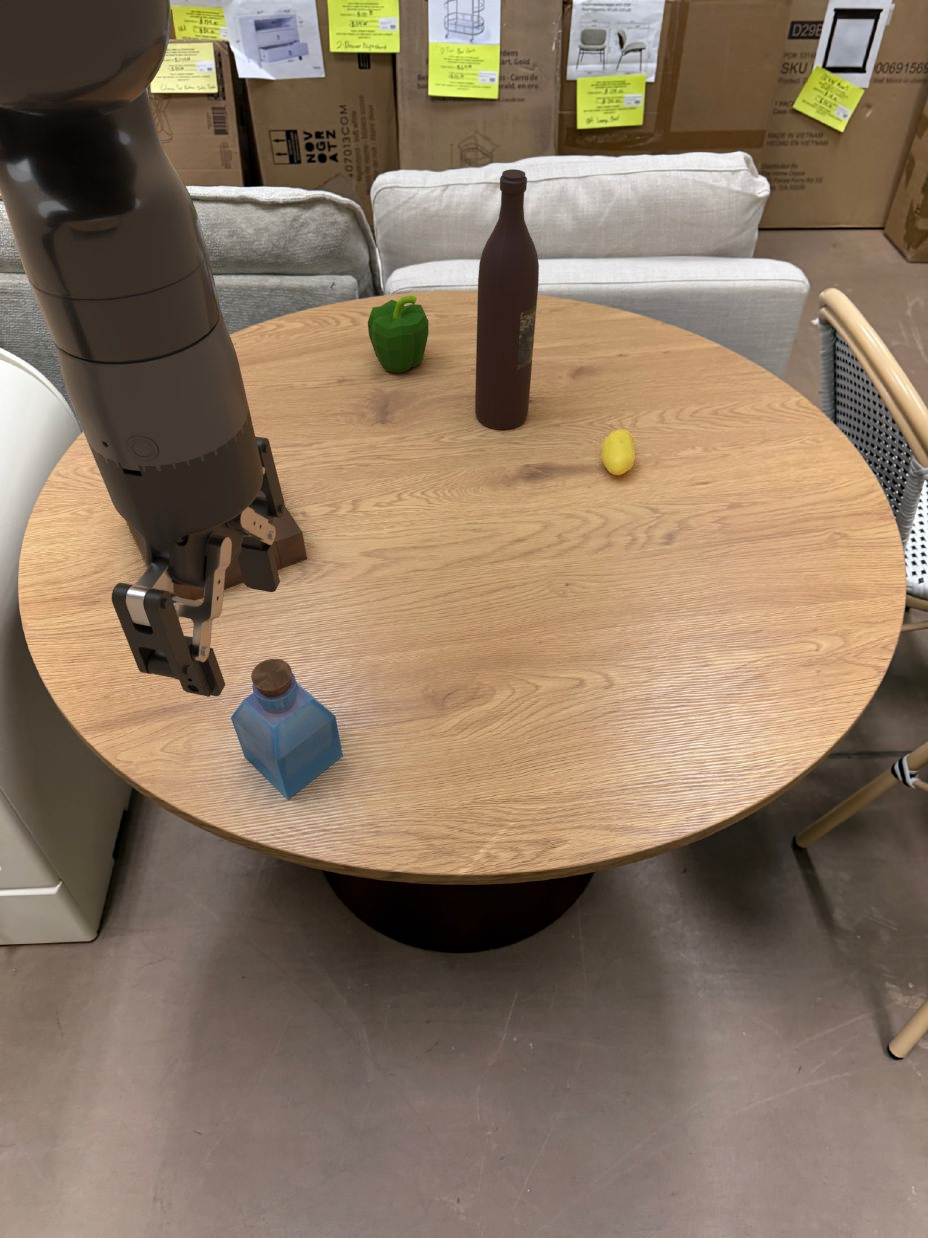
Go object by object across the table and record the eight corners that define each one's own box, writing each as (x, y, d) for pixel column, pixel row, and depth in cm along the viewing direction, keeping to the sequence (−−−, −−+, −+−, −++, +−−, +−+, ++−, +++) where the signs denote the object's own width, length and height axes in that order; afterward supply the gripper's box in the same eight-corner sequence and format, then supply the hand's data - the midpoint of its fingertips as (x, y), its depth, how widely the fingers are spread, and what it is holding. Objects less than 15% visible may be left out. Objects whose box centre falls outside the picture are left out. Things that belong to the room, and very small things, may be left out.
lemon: (635, 447, 104) (640, 422, 101) (630, 486, 99) (635, 460, 96) (602, 443, 104) (607, 417, 101) (595, 481, 99) (599, 455, 96)
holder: (165, 610, 84) (155, 583, 81) (126, 522, 93) (115, 495, 90) (307, 558, 90) (302, 531, 87) (257, 480, 99) (251, 453, 96)
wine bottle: (518, 435, 105) (536, 190, 83) (467, 424, 107) (471, 180, 85) (534, 406, 110) (555, 166, 87) (485, 396, 111) (493, 157, 89)
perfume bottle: (343, 755, 73) (327, 673, 64) (288, 800, 70) (263, 720, 61) (299, 716, 76) (278, 632, 67) (244, 757, 73) (215, 674, 64)
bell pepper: (362, 373, 115) (355, 306, 107) (382, 345, 120) (378, 278, 113) (418, 383, 113) (415, 316, 106) (436, 354, 118) (435, 287, 111)
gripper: (163, 326, 43) (227, 549, 55) (5, 494, 34) (123, 717, 46) (296, 344, 42) (332, 566, 54) (169, 522, 33) (247, 742, 45)
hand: (236, 635), depth 50 cm, fingers open, 8 cm apart
